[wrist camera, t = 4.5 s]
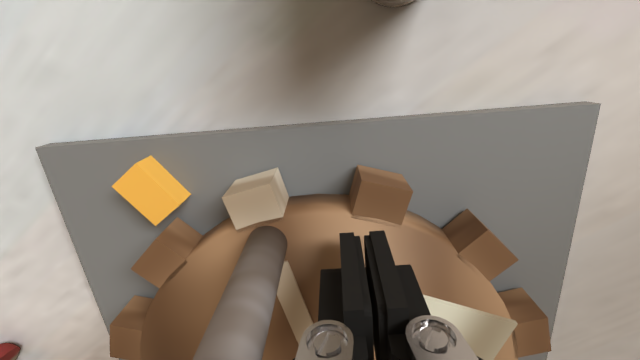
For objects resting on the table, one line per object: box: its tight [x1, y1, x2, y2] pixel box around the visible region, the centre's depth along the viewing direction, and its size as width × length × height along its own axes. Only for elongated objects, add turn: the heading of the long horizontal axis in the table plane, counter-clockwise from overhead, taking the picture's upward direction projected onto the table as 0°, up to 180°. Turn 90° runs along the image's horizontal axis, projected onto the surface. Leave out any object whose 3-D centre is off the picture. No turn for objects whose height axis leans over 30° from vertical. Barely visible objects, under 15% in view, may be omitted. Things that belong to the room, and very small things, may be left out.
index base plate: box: [36, 102, 601, 360], centre depth 17 cm, size 24×24×2 cm
